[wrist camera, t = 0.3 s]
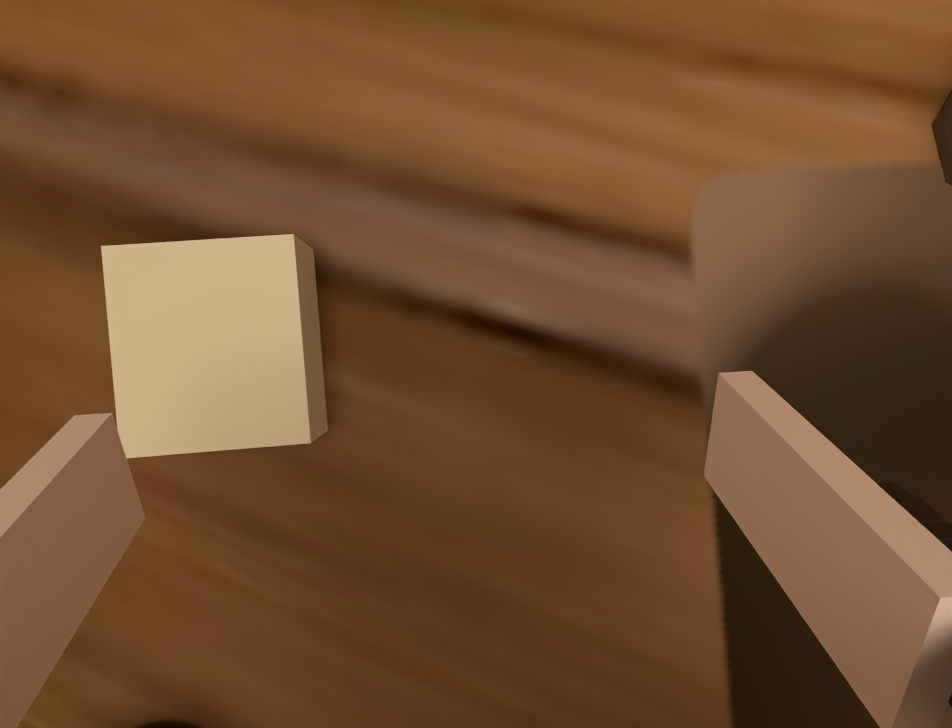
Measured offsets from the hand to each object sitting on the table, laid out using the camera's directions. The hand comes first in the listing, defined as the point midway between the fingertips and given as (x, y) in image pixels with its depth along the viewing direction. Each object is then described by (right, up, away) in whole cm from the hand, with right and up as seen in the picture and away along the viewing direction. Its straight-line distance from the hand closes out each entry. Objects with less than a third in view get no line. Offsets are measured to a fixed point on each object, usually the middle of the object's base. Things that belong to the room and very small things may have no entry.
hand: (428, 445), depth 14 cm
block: (-11, +3, +17) cm, 21 cm away
